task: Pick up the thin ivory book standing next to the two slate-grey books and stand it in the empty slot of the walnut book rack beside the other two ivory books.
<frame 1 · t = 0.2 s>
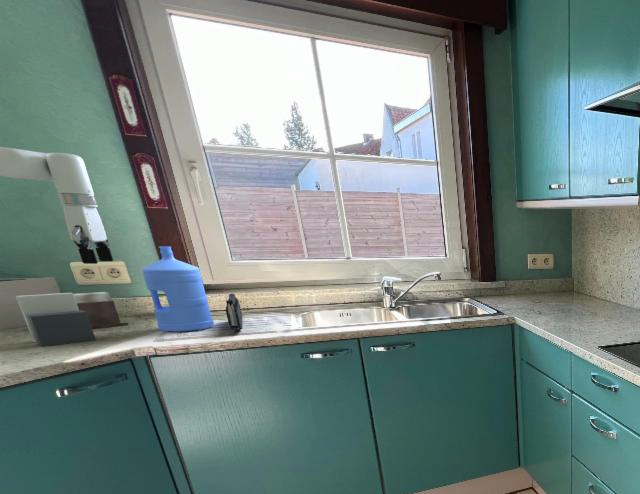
hand: (98, 262, 149), 24 cm above the worktop, tool pointing down, fingers open, 9 cm apart
grey books: (67, 342, 153), on the worktop
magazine: (237, 327, 182), on the worktop
book rack: (97, 325, 176), on the worktop
water jug: (187, 328, 178), on the worktop
white book: (61, 339, 157), on the worktop
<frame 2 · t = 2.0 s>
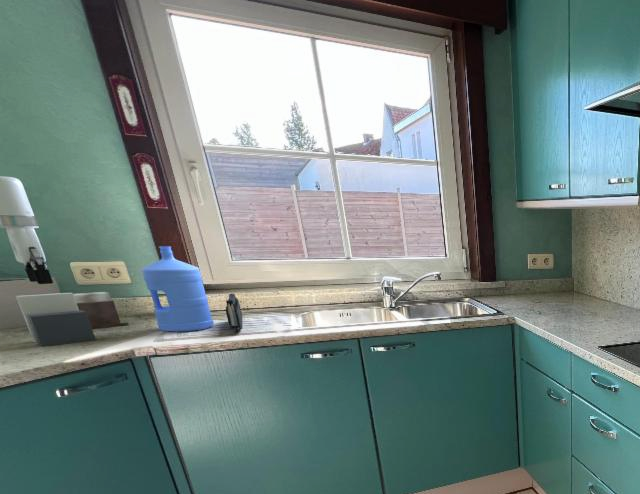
hand: (41, 282, 150), 18 cm above the worktop, tool pointing down, fingers open, 9 cm apart
nothing on the worktop moved.
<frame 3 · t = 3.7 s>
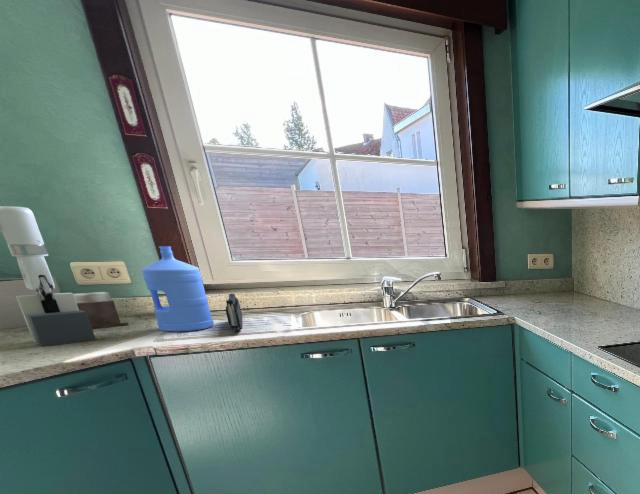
hand: (51, 312, 154), 9 cm above the worktop, tool pointing down, fingers closed on white book, 2 cm apart
white book: (61, 339, 157), on the worktop, touching gripper
everything else where it was.
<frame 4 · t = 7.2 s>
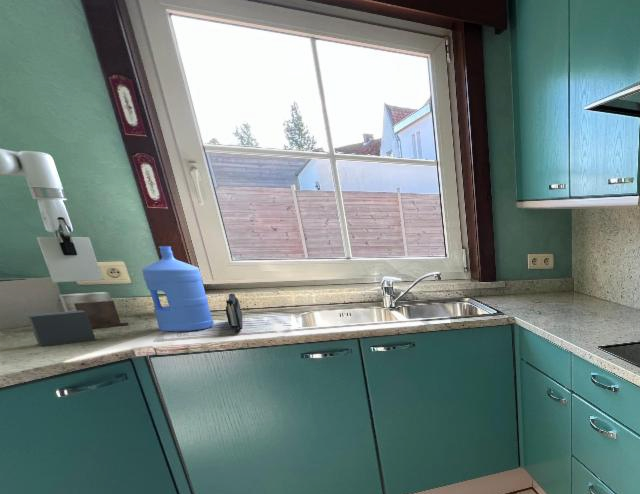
hand: (69, 254, 164), 25 cm above the worktop, tool pointing down, fingers closed on white book
white book: (78, 280, 167), point 16 cm above the worktop, touching gripper
everything else where it was.
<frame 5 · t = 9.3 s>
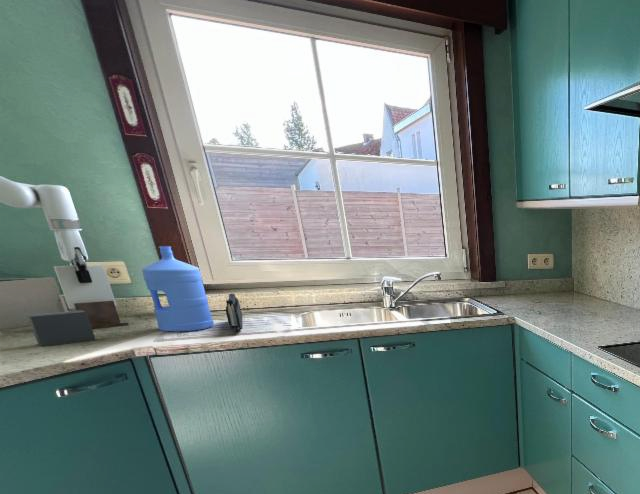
hand: (84, 282, 170), 15 cm above the worktop, tool pointing down, fingers closed on white book
white book: (93, 306, 173), point 7 cm above the worktop, touching gripper
everything else where it was.
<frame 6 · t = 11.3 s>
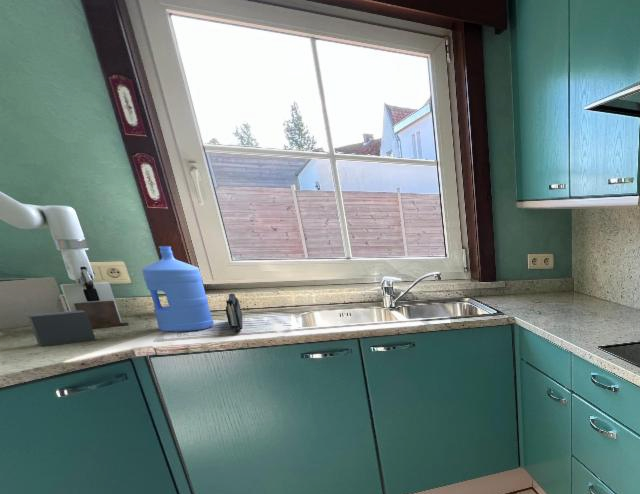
hand: (91, 299, 171), 10 cm above the worktop, tool pointing down, fingers open, 4 cm apart
white book: (98, 323, 175), point 1 cm above the worktop, touching book rack
everything else where it was.
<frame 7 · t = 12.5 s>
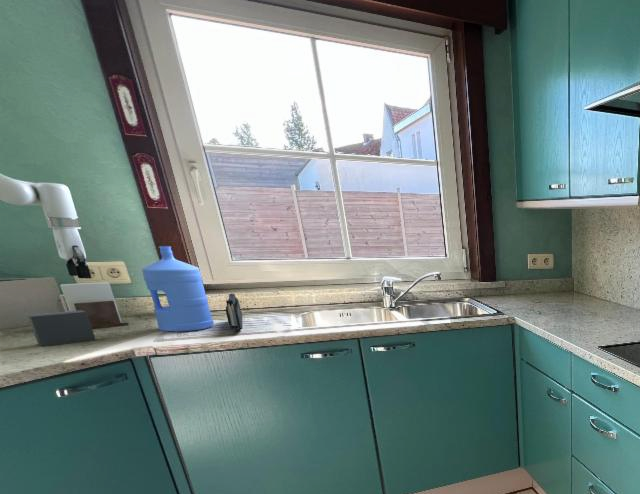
hand: (80, 276, 169), 17 cm above the worktop, tool pointing down, fingers open, 9 cm apart
nothing on the worktop moved.
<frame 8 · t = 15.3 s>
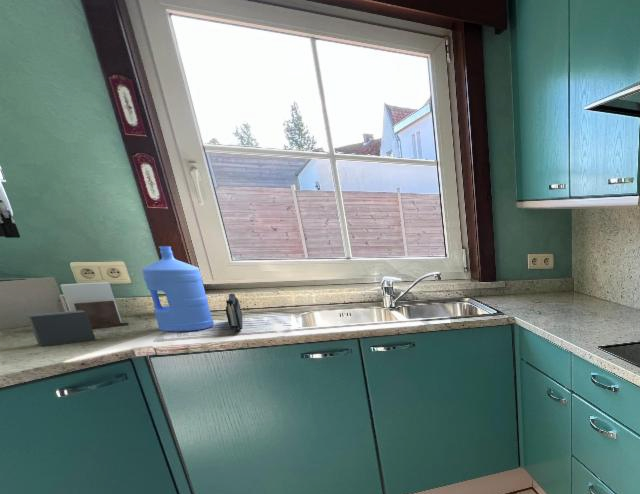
hand: (9, 237, 151), 30 cm above the worktop, tool pointing down, fingers open, 9 cm apart
nothing on the worktop moved.
at the end: white book 0.1 cm from the target spot on the book rack, point 1.0 cm above the book rack's base; white book tilted 0°; the gripper is holding nothing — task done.
